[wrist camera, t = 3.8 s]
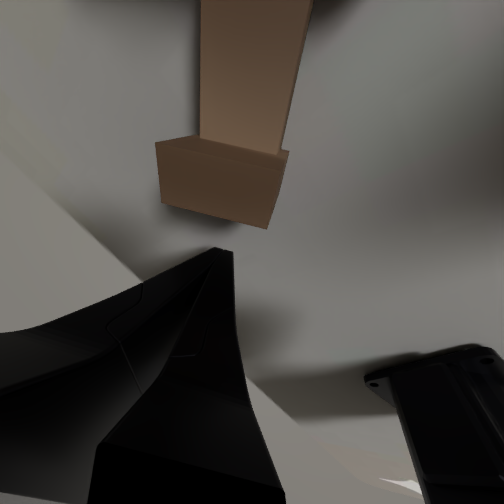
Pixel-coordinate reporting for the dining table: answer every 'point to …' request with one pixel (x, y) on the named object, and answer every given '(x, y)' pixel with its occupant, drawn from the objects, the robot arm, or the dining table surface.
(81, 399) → the robot arm
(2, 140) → the dining table surface
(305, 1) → the wooden box with handle
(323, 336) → the dining table surface
